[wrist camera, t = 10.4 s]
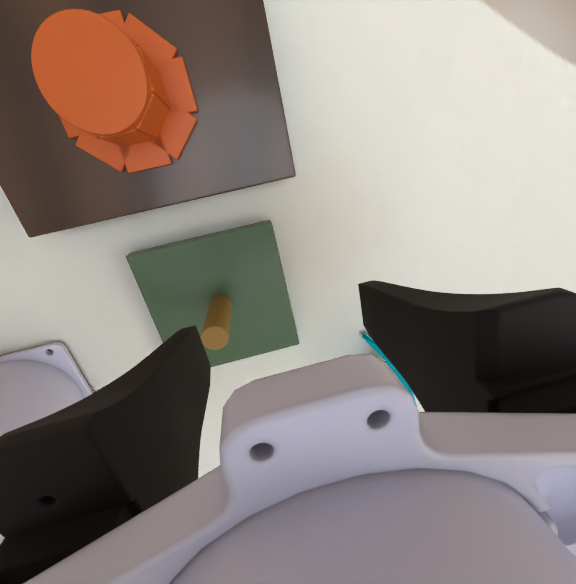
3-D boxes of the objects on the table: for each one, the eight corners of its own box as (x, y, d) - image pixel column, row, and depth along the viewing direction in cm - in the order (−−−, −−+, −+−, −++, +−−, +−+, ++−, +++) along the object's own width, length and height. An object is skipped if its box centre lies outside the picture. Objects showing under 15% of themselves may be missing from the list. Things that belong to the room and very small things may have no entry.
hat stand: (179, 368, 24) (160, 424, 19) (130, 252, 21) (88, 280, 15) (297, 338, 25) (312, 384, 19) (270, 219, 21) (279, 234, 16)
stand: (54, 230, 19) (28, 238, 17) (-54, 21, 15) (-106, -6, 13) (290, 176, 20) (296, 176, 18) (249, -36, 16) (249, -72, 14)
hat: (91, 182, 17) (48, 183, 13) (26, 32, 14) (-52, -20, 10) (211, 155, 17) (201, 149, 13) (168, 4, 14) (142, -56, 11)
